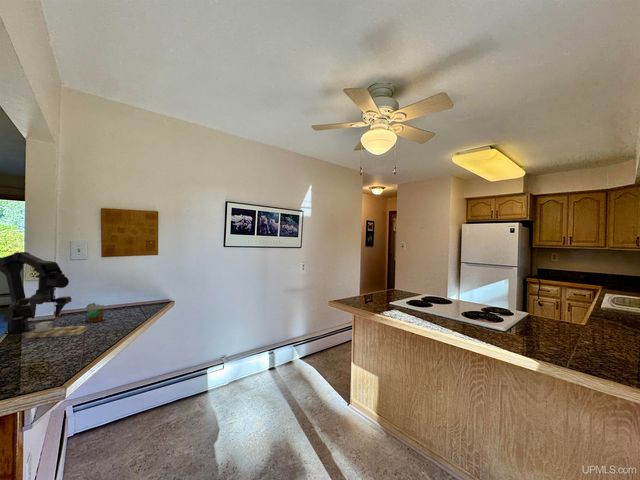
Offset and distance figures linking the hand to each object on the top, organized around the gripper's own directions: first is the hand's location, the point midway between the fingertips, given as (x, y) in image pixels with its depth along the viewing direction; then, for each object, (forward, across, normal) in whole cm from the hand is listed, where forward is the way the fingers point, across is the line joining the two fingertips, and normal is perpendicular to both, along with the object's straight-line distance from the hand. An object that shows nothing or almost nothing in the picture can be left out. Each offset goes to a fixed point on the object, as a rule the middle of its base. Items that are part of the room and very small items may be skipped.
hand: (44, 317), depth 134 cm
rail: (+8, +6, 0) cm, 10 cm away
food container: (+9, +12, +21) cm, 25 cm away
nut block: (+8, 0, 0) cm, 9 cm away
